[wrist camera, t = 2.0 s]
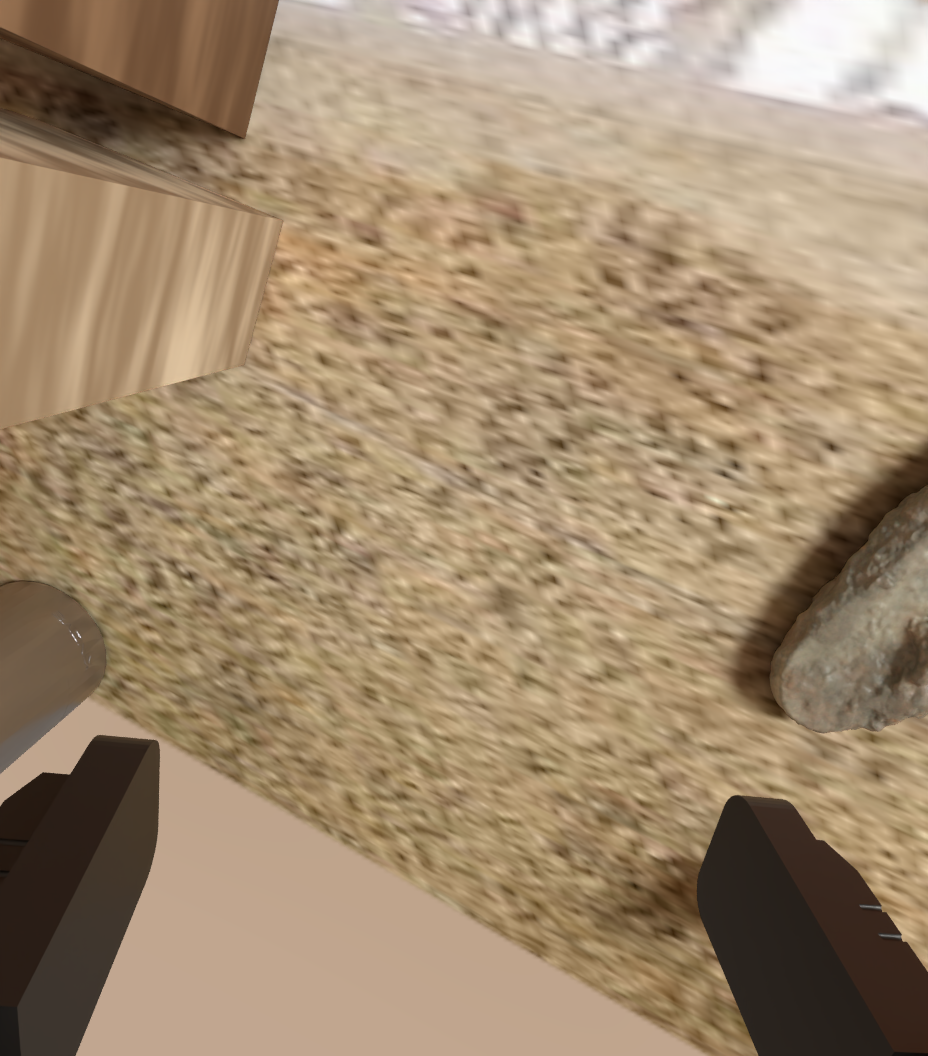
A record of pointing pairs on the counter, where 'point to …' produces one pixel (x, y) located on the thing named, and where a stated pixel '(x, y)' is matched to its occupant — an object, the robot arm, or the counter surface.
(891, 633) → the long grey stone
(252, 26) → the tall stand
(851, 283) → the counter surface
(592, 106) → the counter surface
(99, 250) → the short stand
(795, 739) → the counter surface
